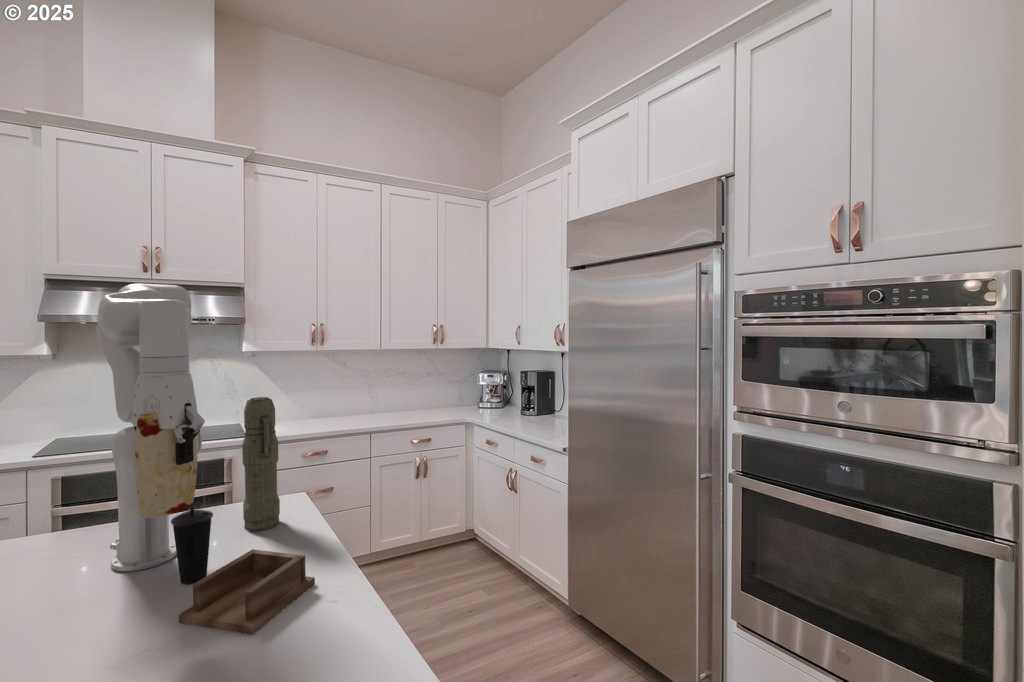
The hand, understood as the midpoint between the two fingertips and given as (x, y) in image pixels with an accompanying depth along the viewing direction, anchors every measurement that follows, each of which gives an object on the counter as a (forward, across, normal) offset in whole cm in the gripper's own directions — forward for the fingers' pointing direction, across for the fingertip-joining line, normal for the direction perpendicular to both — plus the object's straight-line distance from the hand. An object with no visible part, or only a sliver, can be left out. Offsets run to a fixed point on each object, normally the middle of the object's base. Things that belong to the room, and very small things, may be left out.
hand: (167, 460), depth 94 cm
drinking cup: (+30, -9, +13) cm, 34 cm away
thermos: (+30, -16, +42) cm, 54 cm away
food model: (+10, 0, 0) cm, 10 cm away
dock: (+30, +10, +8) cm, 33 cm away
